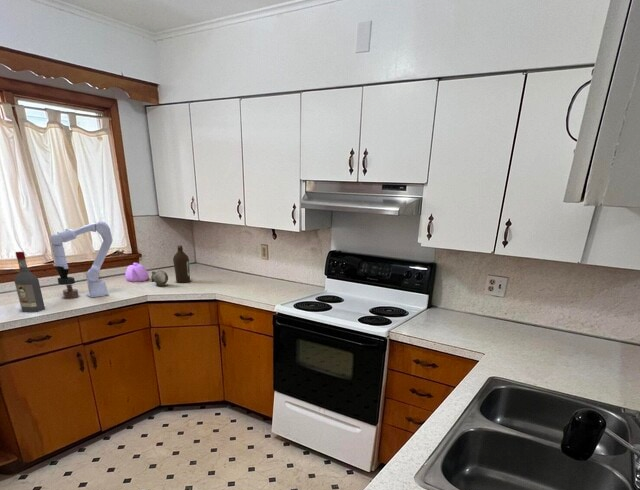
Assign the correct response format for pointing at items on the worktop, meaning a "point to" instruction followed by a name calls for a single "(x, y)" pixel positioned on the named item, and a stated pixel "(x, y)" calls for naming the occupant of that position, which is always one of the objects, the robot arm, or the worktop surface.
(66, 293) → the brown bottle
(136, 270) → the teapot
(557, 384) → the worktop surface
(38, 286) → the liquor
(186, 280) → the olive oil
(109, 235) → the robot arm
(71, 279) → the rubber collar
